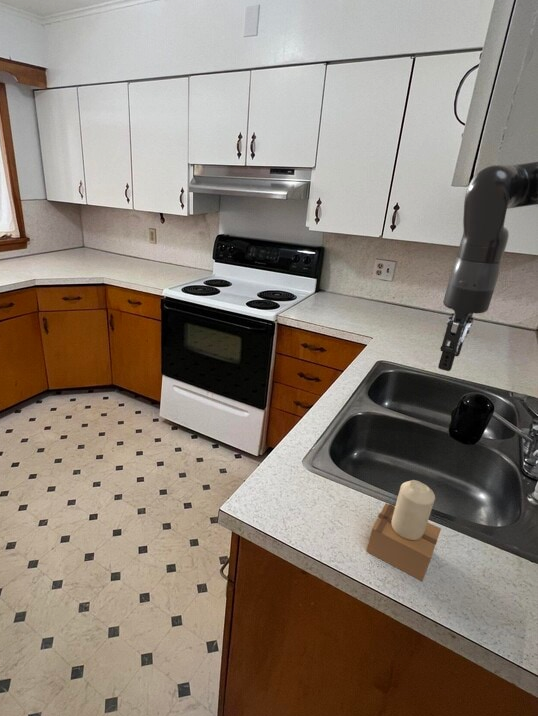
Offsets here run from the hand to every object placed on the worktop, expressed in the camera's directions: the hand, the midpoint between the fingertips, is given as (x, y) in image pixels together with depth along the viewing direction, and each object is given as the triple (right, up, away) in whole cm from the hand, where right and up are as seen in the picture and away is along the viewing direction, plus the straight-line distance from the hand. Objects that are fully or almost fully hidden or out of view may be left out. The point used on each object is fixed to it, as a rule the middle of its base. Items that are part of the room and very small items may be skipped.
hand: (448, 361), depth 85 cm
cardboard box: (-12, -36, -5) cm, 38 cm away
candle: (-12, -30, -8) cm, 33 cm away
